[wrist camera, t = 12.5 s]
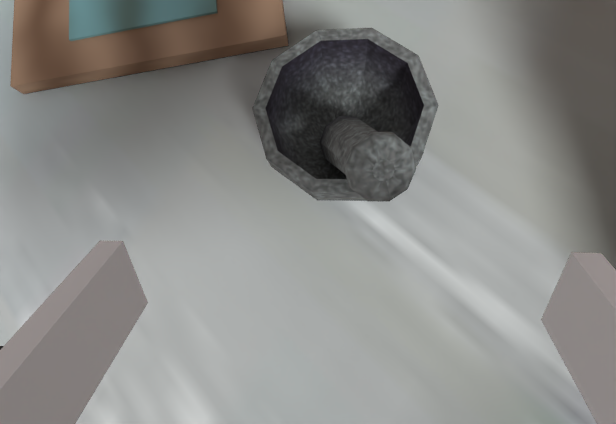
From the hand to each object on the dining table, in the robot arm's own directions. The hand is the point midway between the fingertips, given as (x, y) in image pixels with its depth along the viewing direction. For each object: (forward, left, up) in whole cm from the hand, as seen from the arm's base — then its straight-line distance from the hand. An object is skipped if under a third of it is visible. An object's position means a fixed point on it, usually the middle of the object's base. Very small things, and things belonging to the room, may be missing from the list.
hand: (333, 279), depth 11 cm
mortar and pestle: (-2, -8, -14) cm, 16 cm away
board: (+12, -27, -13) cm, 33 cm away
